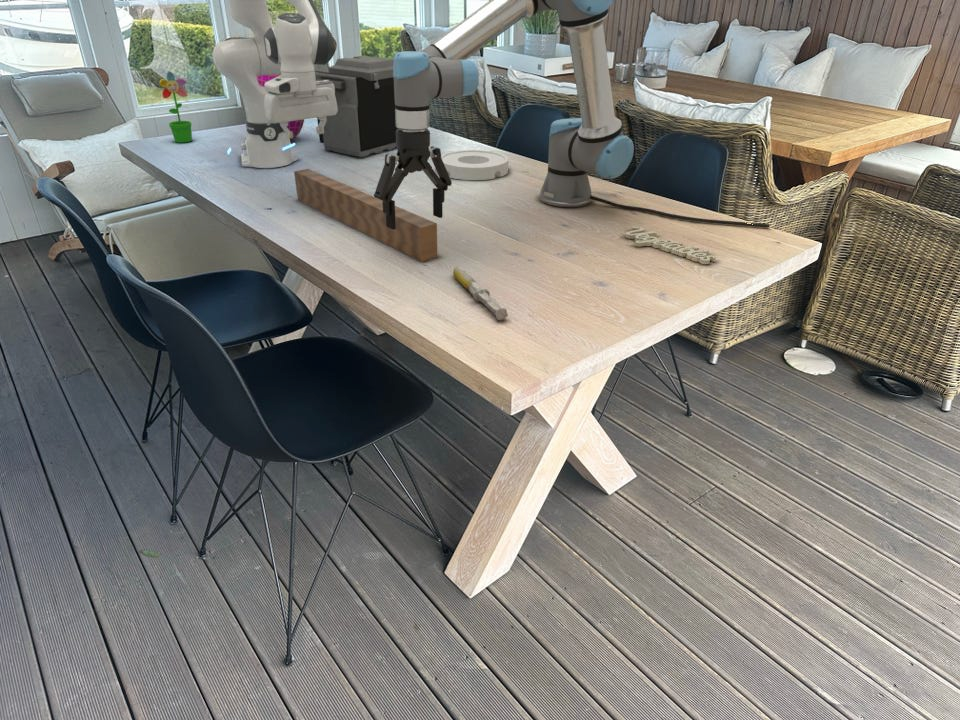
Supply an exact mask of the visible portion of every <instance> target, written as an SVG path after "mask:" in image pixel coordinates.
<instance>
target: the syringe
mask: <svg viewBox="0 0 960 720" xmlns="http://www.w3.org/2000/svg"><path fill="white" fill-rule="evenodd" d="M452 274H453V277H454V279H455V280H457V281H458V282H459V283H460V285H462V287H464V289H466V290H467V291H468V293H470V295H471V296H472V298H473V300H474V302H477V303H478V302H480V303H482V304H483V305H484V306H485V307H486V308H487V309H488V310H489V311H490V312H491V313H492V314H493V315H494V316H495V317H496V320H497V321H503V320H504V319H506V318H507V317H509V314H508V310H507V308H506V307H502V306H501V305H500V303H498V302H497V301H496V300H494V299H493V298H492V297H491V296H490V295H491V293H490V290H488V289H486V288H483V287H482V286H481V285H480V284H479V283H478V282H477V281H476V280H474V278H473V277H471V275H469V274H468V273H467V272H466V270H465V269H464V268H463V267H462V266H456V267H454V268H453V271H452Z"/></svg>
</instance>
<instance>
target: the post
mask: <svg viewBox="0 0 960 720" xmlns="http://www.w3.org/2000/svg"><path fill="white" fill-rule="evenodd" d="M293 174H294V180H295V181H294V182H295V189H296V197H297V201H298V202H300V203H302V204H304V205H306V206H308V207H311V208H312V209H315V210H316V211H318V212H320V213H323V214H324V215H326V216H329V217H331V218H332V219H334V220H337V221H338V222H341V223H343V224H345V225H347V226H349V227H350V228H352V229H355V230H357V231H359V232H361V233H362V234H365V235H366V236H369V237H371V238H372V239H375V240H377V241H379V242H381V243H383V244H385V245H387V246H389V247H391V248H393V249H395V250H397V251H399V252H400V253H403V254H405V255H407V256H409V257H411V258H413V259H415V260H417V261H419V262H421V263H425V262H428V261H431V260H434V259H437V258H438V257H439V256H438V254H439V253H438V224H437V223H436V222H435V221H433V220H430V219H428V218H425V217H423V216H420V215H418V214H416V213H413V212H411V211H409V210H406V209H404V208H401V207H399V206H397V205H395V223H396V229H394V230H393V229H391V228H388V227H386V215H385V214H384V213H383V202H382V200H380V199H378V198H375V197H374V195H371V194H369V193H366V192H364V191H362V190H359V189H357V188H355V187H353V186H350V185H348V184H346V183H343V182H340V181H338V180H336V179H333V178H331V177H329V176H326V175H324V174H321V173H319V172H317V171H315V170H312V169H310V168H305V169H299V170H293Z"/></svg>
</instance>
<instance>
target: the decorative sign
mask: <svg viewBox="0 0 960 720" xmlns="http://www.w3.org/2000/svg"><path fill="white" fill-rule="evenodd" d="M624 238H626V239H629V240H630V239H631V240H634V247H636V248H639V247H653V248H655V249H660V250H661V251H663V252H667V253H671V254H673V255H677V256H679V257H685V259H687V260H691V261H693V262H696V263H697V262H698V263H700V264H702V265H709V264H710V261H711V262H712V263H715V262H716V258H717V257H716V256H715V255H711V254H710V250H709V249H700V247H699V246H697V245H696V246H686V247H685V246H684V245H683V243H682V242H681V241H677V240H676V241H675V240H673V239H667V240H666V239H662V238H658V237H657V232H656V231H645V228H643V227H639V226H631V229H630V231H625V234H624ZM709 254H710V255H709Z"/></svg>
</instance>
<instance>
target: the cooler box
mask: <svg viewBox="0 0 960 720" xmlns="http://www.w3.org/2000/svg"><path fill="white" fill-rule="evenodd" d="M393 63H394V58H385V57H377V56H367V55H356V56H353V57H350V58H349V57H343V58H342V57H341V58H337V59H336V60H335V63H334V64H333V65H330V66H329V67H328V72H327V71H320V70H315V77H316V81H317V80H329V81H331V82H332V83H333V84H334V87H335V97H336V102H337V107H338V111H337V113H336V115H332V116H326V118H327V121H326V123H325V126H324V133H323V134H318V138H319V143H320V144H323V146H324V149H325V150H327V151H330V152H335V153H340V154H344V155H348V156H353V157H357V158H362V159H363V158H366V157H367V158H368V157H369V155H371V154H375V155H377V154H381V153H382V152H383V151H391V150H395V149H396V148H397V146H396V130H397V129H398V128H397V127H396V122H395V96H394V78H393ZM329 84H330V83H329ZM316 119H317V126H319V123H320V120H319V118H316Z"/></svg>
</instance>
